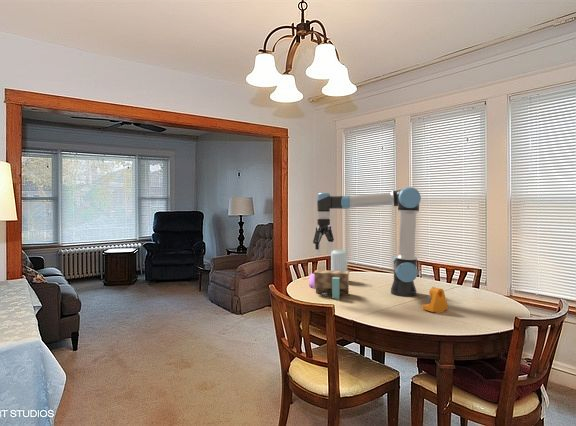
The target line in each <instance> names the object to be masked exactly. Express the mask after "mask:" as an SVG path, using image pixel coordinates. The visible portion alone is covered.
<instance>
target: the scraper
mask: <svg viewBox="0 0 576 426" xmlns="http://www.w3.org/2000/svg"><path fill="white" fill-rule="evenodd" d="M332 298H335V299H334V300H340V298H341V294H340V277H333V278H332V294H331V299H332Z"/></svg>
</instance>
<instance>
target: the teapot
mask: <svg viewBox="0 0 576 426" xmlns="http://www.w3.org/2000/svg"><path fill="white" fill-rule="evenodd" d="M308 286H309V288H311V287H312V288H311V289H314V288H315V278H314V273H310V274H309V280H308Z"/></svg>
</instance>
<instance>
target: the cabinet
mask: <svg viewBox="0 0 576 426" xmlns="http://www.w3.org/2000/svg"><path fill="white" fill-rule="evenodd" d="M313 274H314V278H315V288H316V289H315V293H316V294H322V292H323V291H328V292H329V293H332V278H333V277H340V295H344V294H348V293H349V289H350V288H349V285H350V284H349V282H350V281H349V276H350V271H349V270H347V271H331V270H327V269H326V270H325V269H324V270H323V269H322V270H319V269H316V270H314V272H313ZM348 295H349V294H348Z"/></svg>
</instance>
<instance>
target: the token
mask: <svg viewBox="0 0 576 426" xmlns="http://www.w3.org/2000/svg"><path fill="white" fill-rule="evenodd" d="M322 294H323V295H322ZM321 295H322V296H324V295H328V296H330V294H329V292H328V291H323V292H322V293H321Z"/></svg>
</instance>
